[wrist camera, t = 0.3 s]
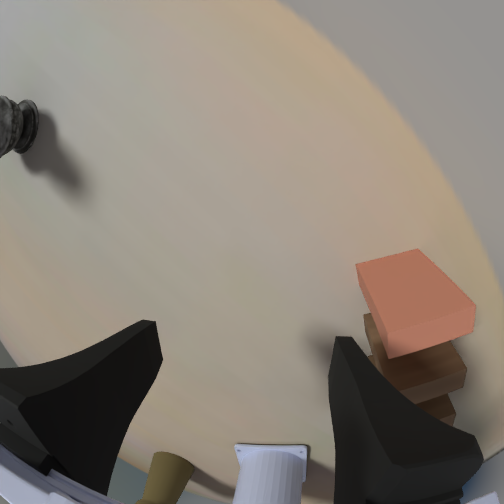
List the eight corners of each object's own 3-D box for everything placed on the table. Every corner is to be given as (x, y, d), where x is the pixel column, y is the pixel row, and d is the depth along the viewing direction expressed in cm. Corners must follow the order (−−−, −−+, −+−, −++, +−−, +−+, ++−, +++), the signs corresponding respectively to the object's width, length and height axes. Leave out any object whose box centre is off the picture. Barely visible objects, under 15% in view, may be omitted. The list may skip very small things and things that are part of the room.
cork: (160, 446, 31) (131, 511, 21) (201, 466, 31) (179, 531, 21) (148, 459, 33) (122, 515, 23) (185, 476, 33) (164, 534, 23)
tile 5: (419, 268, 19) (472, 331, 11) (359, 284, 20) (388, 359, 12) (417, 248, 19) (475, 304, 11) (355, 264, 20) (387, 333, 12)
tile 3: (420, 355, 21) (452, 426, 14) (369, 369, 23) (386, 447, 15) (420, 341, 21) (456, 413, 13) (367, 356, 22) (387, 435, 14)
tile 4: (421, 316, 20) (462, 387, 12) (365, 331, 21) (388, 411, 13) (421, 299, 20) (467, 368, 12) (363, 314, 21) (389, 393, 13)
